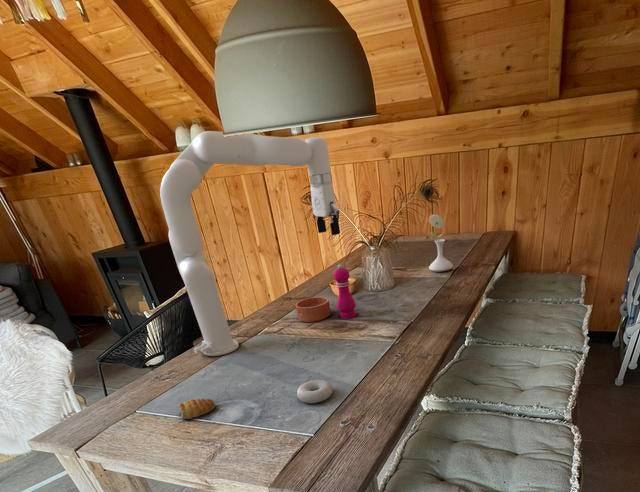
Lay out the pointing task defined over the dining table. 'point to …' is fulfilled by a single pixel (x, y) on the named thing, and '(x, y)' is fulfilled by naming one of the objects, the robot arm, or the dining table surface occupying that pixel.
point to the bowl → (313, 309)
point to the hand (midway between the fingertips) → (329, 233)
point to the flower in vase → (439, 246)
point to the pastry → (196, 407)
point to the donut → (314, 391)
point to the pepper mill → (344, 293)
